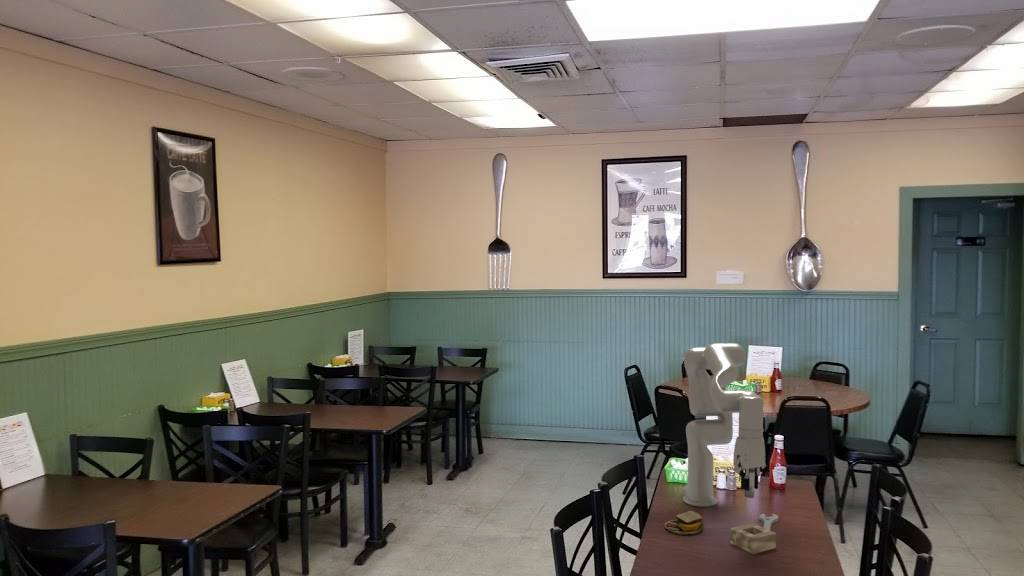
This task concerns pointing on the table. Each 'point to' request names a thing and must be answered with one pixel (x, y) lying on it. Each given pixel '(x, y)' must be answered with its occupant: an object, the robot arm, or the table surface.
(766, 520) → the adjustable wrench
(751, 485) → the metal peg
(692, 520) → the toy sandwich meal
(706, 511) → the table surface
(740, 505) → the table surface
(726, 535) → the table surface
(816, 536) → the table surface
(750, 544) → the block
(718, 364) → the robot arm
